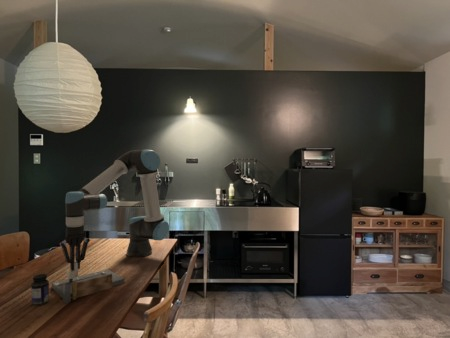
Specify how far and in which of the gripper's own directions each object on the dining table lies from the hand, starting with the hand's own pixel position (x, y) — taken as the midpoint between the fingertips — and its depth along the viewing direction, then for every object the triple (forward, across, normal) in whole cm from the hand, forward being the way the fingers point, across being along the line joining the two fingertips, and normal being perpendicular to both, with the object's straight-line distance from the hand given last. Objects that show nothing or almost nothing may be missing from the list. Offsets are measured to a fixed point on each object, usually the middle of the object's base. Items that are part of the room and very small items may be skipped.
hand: (75, 276), depth 143 cm
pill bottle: (+4, +16, +9) cm, 19 cm away
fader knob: (+2, +2, 0) cm, 3 cm away
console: (+4, -5, +4) cm, 7 cm away
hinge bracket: (+4, +8, +15) cm, 18 cm away
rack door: (+4, -2, +15) cm, 16 cm away
